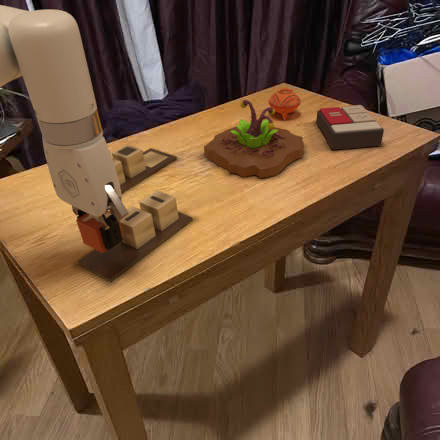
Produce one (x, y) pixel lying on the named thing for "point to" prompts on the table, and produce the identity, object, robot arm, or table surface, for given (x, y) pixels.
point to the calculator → (349, 127)
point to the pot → (284, 101)
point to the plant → (255, 146)
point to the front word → (138, 235)
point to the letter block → (92, 231)
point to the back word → (138, 164)
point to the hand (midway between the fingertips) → (102, 238)
